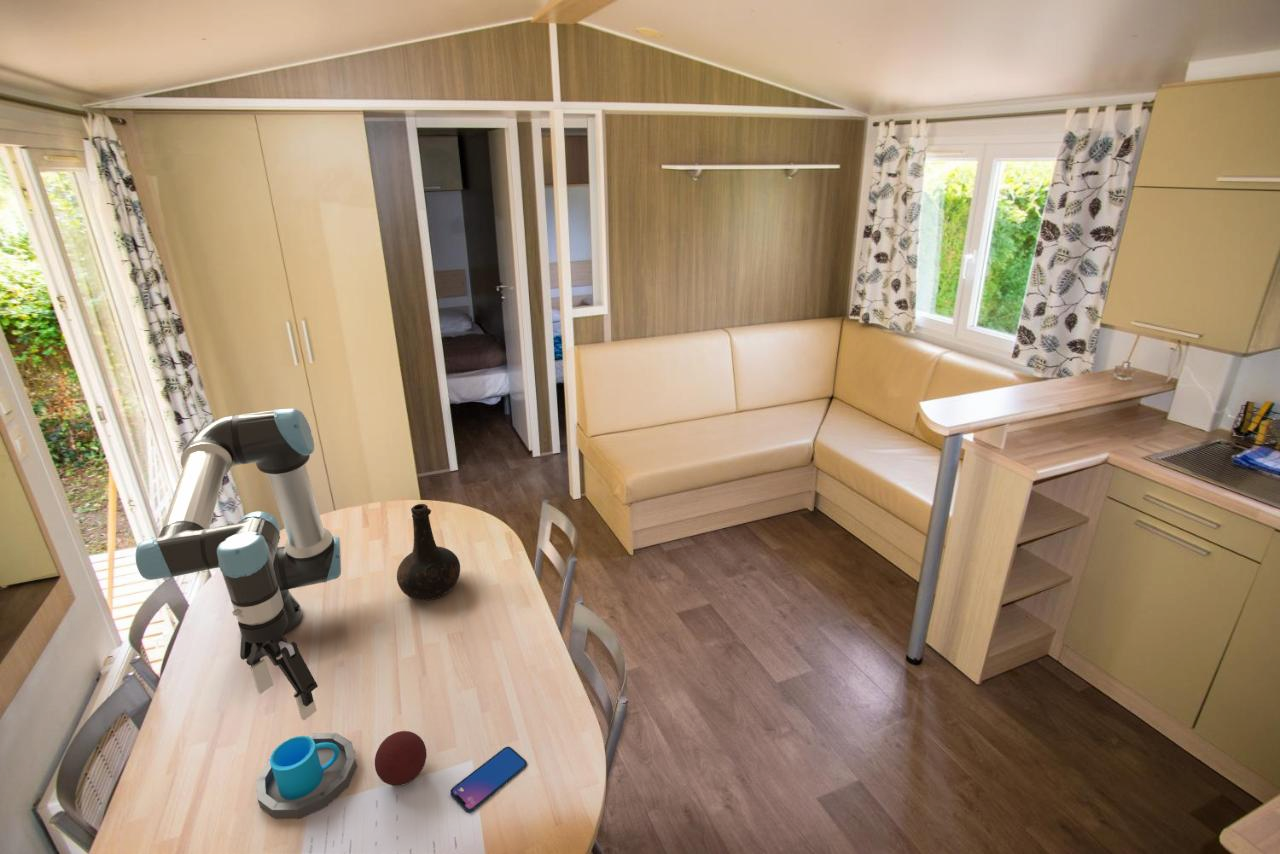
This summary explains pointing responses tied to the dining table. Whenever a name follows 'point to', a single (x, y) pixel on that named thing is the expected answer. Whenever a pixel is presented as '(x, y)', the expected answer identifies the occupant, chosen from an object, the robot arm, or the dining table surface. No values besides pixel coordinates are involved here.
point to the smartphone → (488, 779)
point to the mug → (299, 766)
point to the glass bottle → (427, 562)
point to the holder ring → (323, 795)
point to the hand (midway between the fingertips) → (287, 701)
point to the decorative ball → (400, 758)
